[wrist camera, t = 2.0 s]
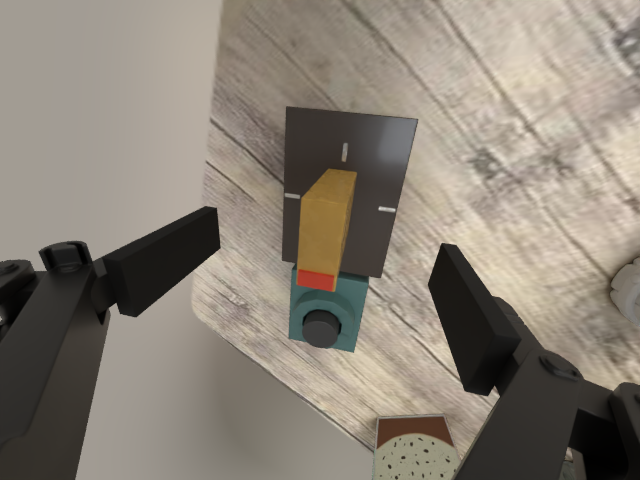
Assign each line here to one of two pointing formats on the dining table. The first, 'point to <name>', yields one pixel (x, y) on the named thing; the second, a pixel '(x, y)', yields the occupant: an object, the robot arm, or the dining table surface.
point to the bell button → (321, 328)
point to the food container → (414, 448)
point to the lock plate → (349, 155)
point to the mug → (628, 291)
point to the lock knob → (324, 229)
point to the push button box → (330, 307)
